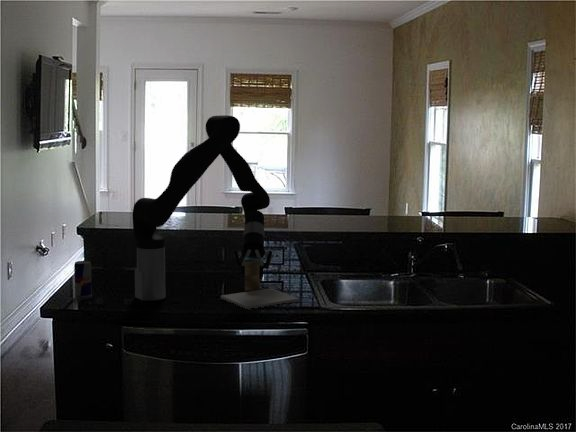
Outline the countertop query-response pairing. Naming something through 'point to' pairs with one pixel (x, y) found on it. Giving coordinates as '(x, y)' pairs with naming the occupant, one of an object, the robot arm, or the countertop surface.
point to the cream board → (259, 298)
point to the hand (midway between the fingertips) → (252, 277)
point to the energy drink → (83, 280)
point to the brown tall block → (252, 273)
